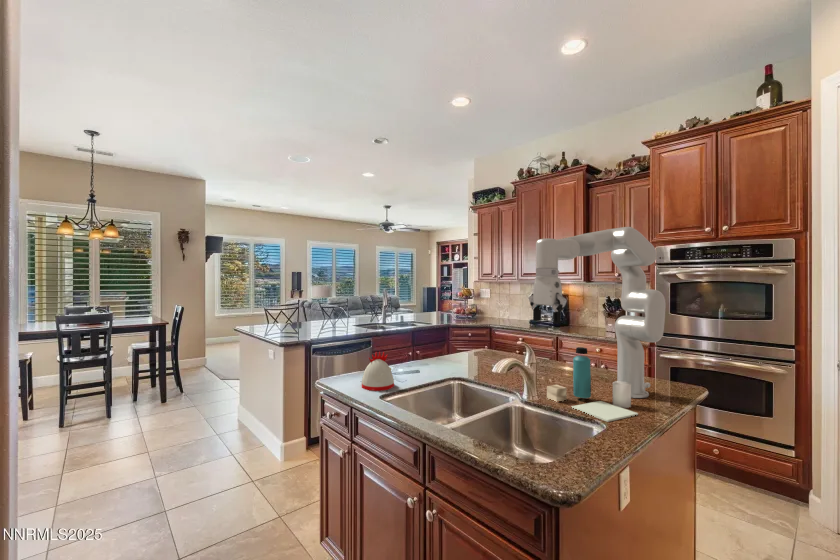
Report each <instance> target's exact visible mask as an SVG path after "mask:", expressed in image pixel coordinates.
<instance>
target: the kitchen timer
mask: <svg viewBox="0 0 840 560" xmlns="http://www.w3.org/2000/svg"><path fill="white" fill-rule="evenodd" d="M371 356H372V359H371V358H370V357H368V359H369V364H368V365H367V366H366V367H365V370H364V372H363V376H362V379H361V388H362V389H364V390H366V391H372V392H374V391H375V392H376V391H377V392H380V391H381V392H382V391H388V390H390V389H393V388H394V386H395V380H394V376H393V373H392V368H391V367H390V366H389V365H388V363H387V362H386V360H387V358H388V356H389V354H386V355H385V351H383V352H382V355H381V351H379V352H377V351H375V356H374V353H373V354H371Z"/></svg>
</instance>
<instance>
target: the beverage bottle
mask: <svg viewBox="0 0 840 560" xmlns="http://www.w3.org/2000/svg"><path fill="white" fill-rule="evenodd" d="M575 354H578V355H576V356H574V357H573V358H572V364H573V365H572V367H573V370H572V373H573V374H572V377H573V378H572V390H573V391H572V394H573V396H574V397H576V398H580V399H581V398H582V399H589V398H591V397H592V371H591V362H592V361H591V358H589V357H588V356H585V355H588V348H587V347H584V346H583V347H581V346H580V347H576V349H575Z"/></svg>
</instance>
